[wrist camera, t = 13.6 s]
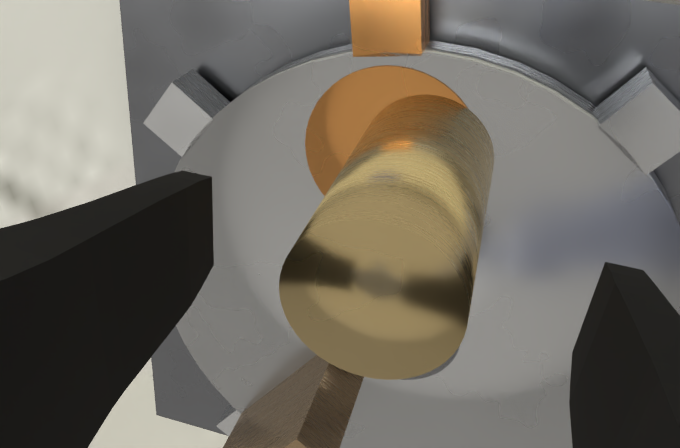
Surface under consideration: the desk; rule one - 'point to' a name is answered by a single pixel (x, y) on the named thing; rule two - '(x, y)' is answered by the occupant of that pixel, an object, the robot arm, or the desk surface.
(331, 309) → the roller
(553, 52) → the base plate
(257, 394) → the tabbed metal disc
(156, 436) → the desk surface
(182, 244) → the robot arm
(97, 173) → the desk surface
